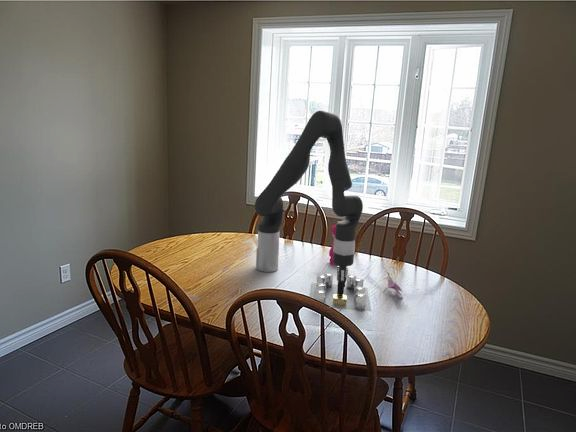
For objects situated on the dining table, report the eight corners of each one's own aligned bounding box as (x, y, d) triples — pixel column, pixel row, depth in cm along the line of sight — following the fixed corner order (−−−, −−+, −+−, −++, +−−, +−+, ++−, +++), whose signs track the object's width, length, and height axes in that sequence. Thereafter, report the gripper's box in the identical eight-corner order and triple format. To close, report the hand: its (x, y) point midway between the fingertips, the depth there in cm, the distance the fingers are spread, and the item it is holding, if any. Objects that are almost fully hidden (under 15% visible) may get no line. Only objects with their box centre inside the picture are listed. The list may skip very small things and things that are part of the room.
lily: (399, 307, 150) (412, 285, 149) (370, 290, 152) (383, 268, 152) (397, 303, 161) (410, 282, 161) (371, 287, 164) (383, 267, 164)
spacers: (314, 306, 143) (315, 293, 141) (316, 283, 162) (317, 271, 161) (365, 311, 141) (366, 298, 140) (361, 287, 161) (362, 275, 160)
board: (305, 324, 132) (305, 321, 132) (311, 285, 163) (311, 282, 163) (374, 331, 130) (374, 328, 130) (366, 290, 161) (367, 287, 161)
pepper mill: (343, 266, 185) (347, 224, 180) (327, 264, 186) (330, 222, 182) (344, 261, 192) (348, 220, 187) (329, 259, 193) (332, 218, 188)
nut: (333, 305, 144) (333, 299, 144) (333, 299, 149) (333, 292, 149) (346, 306, 144) (346, 300, 143) (345, 300, 149) (346, 293, 148)
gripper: (333, 244, 153) (329, 286, 157) (333, 256, 140) (329, 302, 144) (353, 245, 152) (349, 288, 156) (355, 257, 139) (351, 304, 143)
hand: (340, 295), depth 150 cm, fingers closed
